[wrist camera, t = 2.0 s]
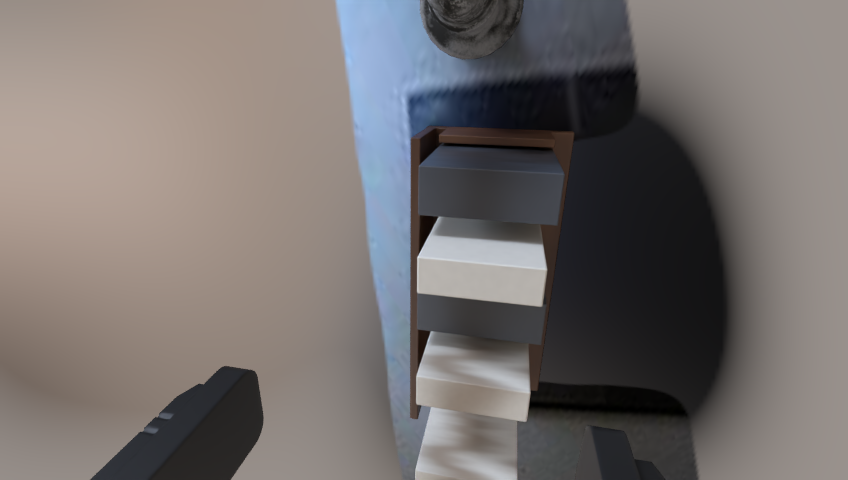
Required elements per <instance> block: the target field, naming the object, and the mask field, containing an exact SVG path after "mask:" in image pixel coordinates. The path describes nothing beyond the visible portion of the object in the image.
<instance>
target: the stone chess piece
mask: <svg viewBox="0 0 848 480" xmlns="http://www.w3.org/2000/svg"><path fill="white" fill-rule="evenodd" d="M523 2H524V0H420V14H421V18H422V22H423V25H424V28H425V30H426V32H427V34H428V36H429V37H430V39H431V41H432V42H433V43H434V44H435V45H436V46H437V47H438V48H439V49H440V50H442V51H443V52H445V53H447V54H448V55H450V56H453V57H457V58H461V59H478V58H481V57H484V56H487V55H490V54H491V53H493V52H494V51H496V50H497V49H499V48H500V47H502V46H503V45H504V43H505V42H506V41H507V40H508V39H509V38H510V37H511V36H512V34H513V32H514V30H515V29H516V27H517V25H518V23H519V20H520V17H521V14H522V10H523Z"/></svg>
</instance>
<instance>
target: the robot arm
mask: <svg viewBox="0 0 848 480" xmlns="http://www.w3.org/2000/svg"><path fill="white" fill-rule="evenodd" d="M262 426H263V411H262V404H261V397H260V391H259V384H258V377H257V374H256V373H255V371H252V370H247V369H241V368H235V367H229V366H224V367H222V368H220V369H219V370H218V371H217V372H216V373H215V374H214V375H213V376H212V377H211V378H210V379H209V380H208V381H207V382H206V383H205V384H204V385H203V384H198V385H196V386H194V387H193V388H191V389H189V390H188V391H186V392H184V393H182V394H181V395H179V396H177V397H176V398H175V399H174V400H173V401H172V402H171V403H170V404H169V405H168V406H167V407H166V408H165V409H164V410H162V411H161V412H160V413H159V416H158V417H155V418H154V419H153V420H152V421H151V422H150V423H149V424H148V425H147V426H146V427H145V428H144V431H143V432H140V433H138V435H137V436H135V437H134V438H133V439H132V440H131V441H130V442H129V443H128V444H127V445H126V446H125V447H124V448H123V449H122V450H121V451H120V452H119V453H118V454H117V455H116V456H114V457H113V458H112V459H111V460H110V461H109V462H108V463H107V464H106V465H105V466H104V467H103V468H102V469H101V470H100V471H99V472H98V473H97V474H96V475H95V476H94V477H93V478H92V479H91V480H231V478H232V477H233V475H234V474H235V473H236V471H237V470H238V468H239V467H240V465H241V464H242V462H243V461H244V460H245V458H246V456H247V455H248V453H249V452H250V451H251V450H252V448H253V447H254V445H255V444H256V442H257V440H258V438H259V436H260V433H261V430H262ZM575 480H665V478H664V477H663V476H662V475H661V473H660V472H659V471H658V470H657V468H656V467H655V466H654V465H653V463H652V462H648V461H642V460H636V459H634V457H633V454H632V450H631V447H630V444H629V441H628V438H627V435H626V433H625V432H624V431H621V430H615V429H608V428H602V427H596V426H590V425H588V426H587V427H586V429H585V432H584V437H583V441H582V446H581V450H580V455H579V460H578V464H577V469H576V474H575Z"/></svg>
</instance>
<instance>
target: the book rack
mask: <svg viewBox="0 0 848 480" xmlns="http://www.w3.org/2000/svg"><path fill="white" fill-rule="evenodd" d="M573 141H574V132H572V131H549V130H523V129H497V128H472V127H446V126H428V127H427V128H426V129H424V130H423V131H421V132H420V133H418V134H416V135H415V136H413V137H412V138H411V317H410V418H413V419H418V416H419V412H420V409H421V405H422V406H429V407H431V410H430V414H429V418H428V422H427V426H426V430H425V434H424V438H423V442H422V446H421V450H420V454H419V458H418V462H417V466H416V470H415V480H517V421H522V422H526V421H527V416H528V409H529V402H530V394H531V390H534V391H537V390H538V384H539V376H540V370H541V363H542V356H543V349H544V342H545V335H546V328H547V321H548V314H549V307H550V301H551V294H552V286H553V279H554V273H555V266H556V259H557V252H558V245H559V237H560V231H561V224H562V217H563V211H564V204H565V197H566V190H567V183H568V176H569V169H570V162H571V155H572V148H573ZM439 217H451V218H464V219H477V220H489V221H502V222H515V223H528V224H540V227H541V233H542V239H543V246H544V252H545V258H546V264H547V277H546V285H545V292H544V299H543V305H542V307H537V306H528V305H519V304H510V303H501V302H492V301H483V300H474V299H466V298H457V297H448V296H439V295H430V294H421V293H418V292H417V257H418V255H419V254H420V252H421V250H422V248H423V246H424V244H425V242H426V240H427V238H428V236H429V235H430V233H431V231H432V229H433V227H434V225H435V223H436V221H437V219H438V218H439Z"/></svg>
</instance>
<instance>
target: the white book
mask: <svg viewBox="0 0 848 480" xmlns="http://www.w3.org/2000/svg"><path fill="white" fill-rule="evenodd" d="M546 277H547V264H546V258H545V252H544V246H543V239H542V233H541V227H540V224H528V223H515V222H502V221H489V220H477V219H464V218H451V217H439V218H438V219H437V221H436V223H435V225H434V227H433V229H432V231H431V233H430V235H429V236H428V238H427V240H426V242H425V244H424V246H423V248H422V250H421V252H420V254H419V255H418V257H417V292H418V293H421V294H430V295H439V296H448V297H457V298H466V299H474V300H483V301H492V302H501V303H510V304H519V305H528V306H537V307H542V305H543V299H544V292H545V285H546Z"/></svg>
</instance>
